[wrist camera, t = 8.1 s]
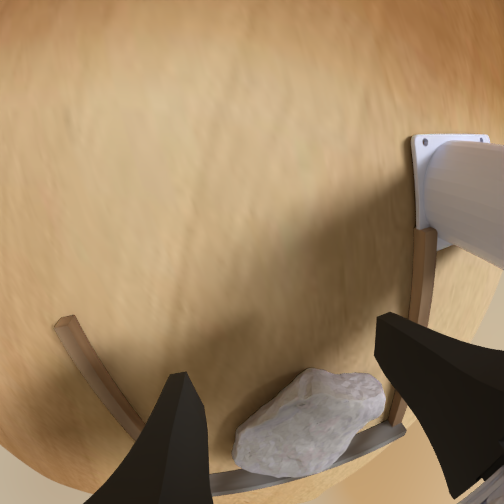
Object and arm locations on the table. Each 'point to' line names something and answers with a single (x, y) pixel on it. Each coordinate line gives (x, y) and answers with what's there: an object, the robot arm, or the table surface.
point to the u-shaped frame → (243, 479)
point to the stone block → (308, 423)
